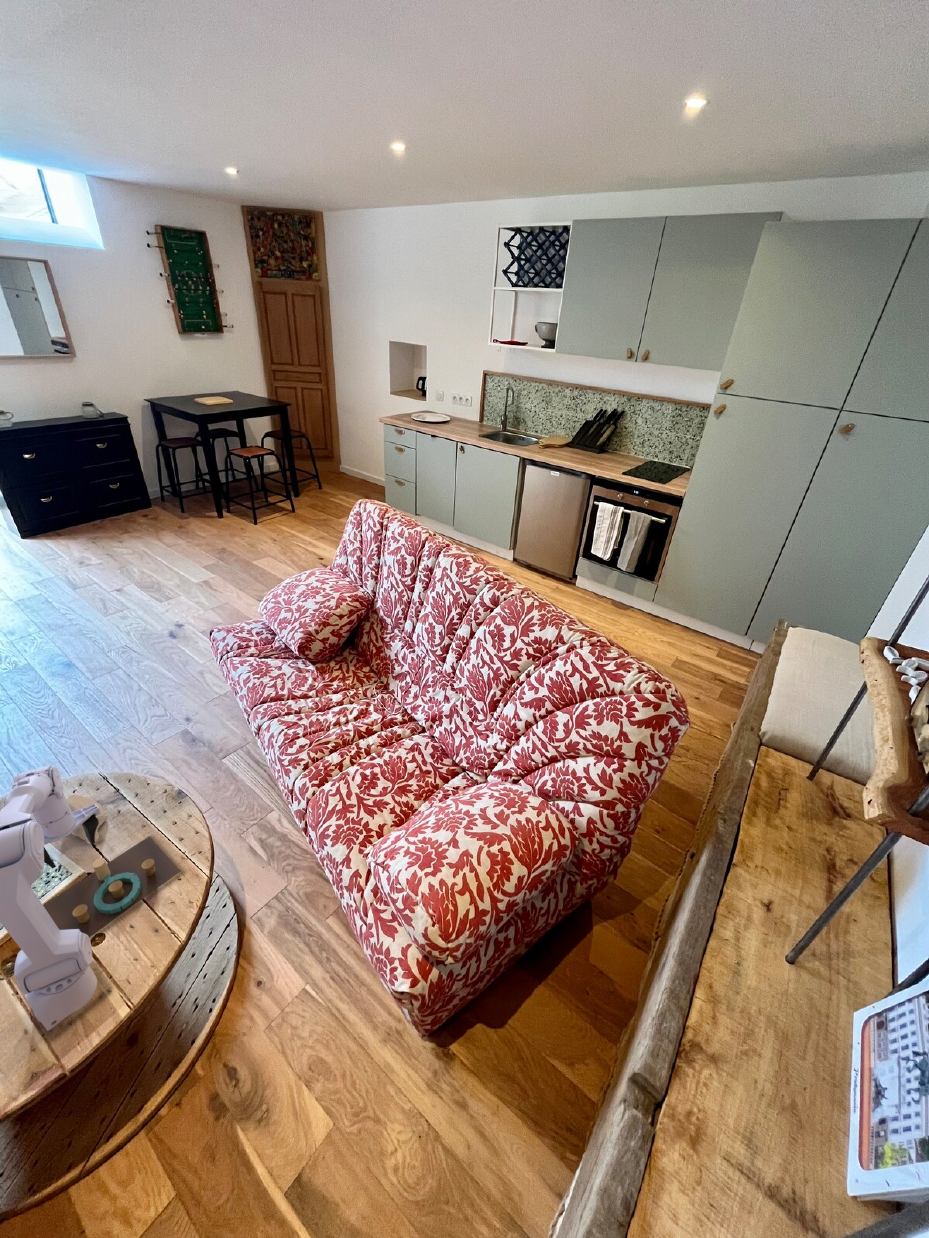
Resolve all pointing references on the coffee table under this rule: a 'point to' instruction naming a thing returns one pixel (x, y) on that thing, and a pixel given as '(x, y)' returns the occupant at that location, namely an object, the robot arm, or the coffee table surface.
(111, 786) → the coffee table surface
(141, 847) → the rack
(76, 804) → the decorative stone
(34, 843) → the robot arm
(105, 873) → the ring
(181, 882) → the coffee table surface
